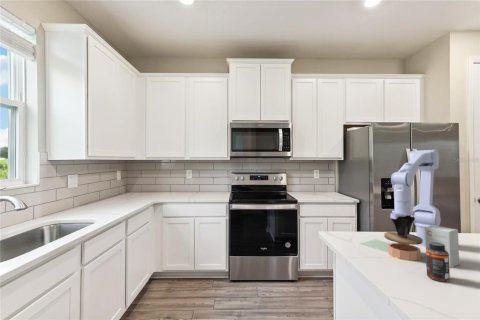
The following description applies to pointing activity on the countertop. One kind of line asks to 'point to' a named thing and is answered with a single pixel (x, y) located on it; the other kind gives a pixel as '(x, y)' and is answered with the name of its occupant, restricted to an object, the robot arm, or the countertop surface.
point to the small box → (444, 241)
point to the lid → (403, 238)
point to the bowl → (404, 251)
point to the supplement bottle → (437, 262)
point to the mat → (377, 244)
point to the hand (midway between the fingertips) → (403, 234)
